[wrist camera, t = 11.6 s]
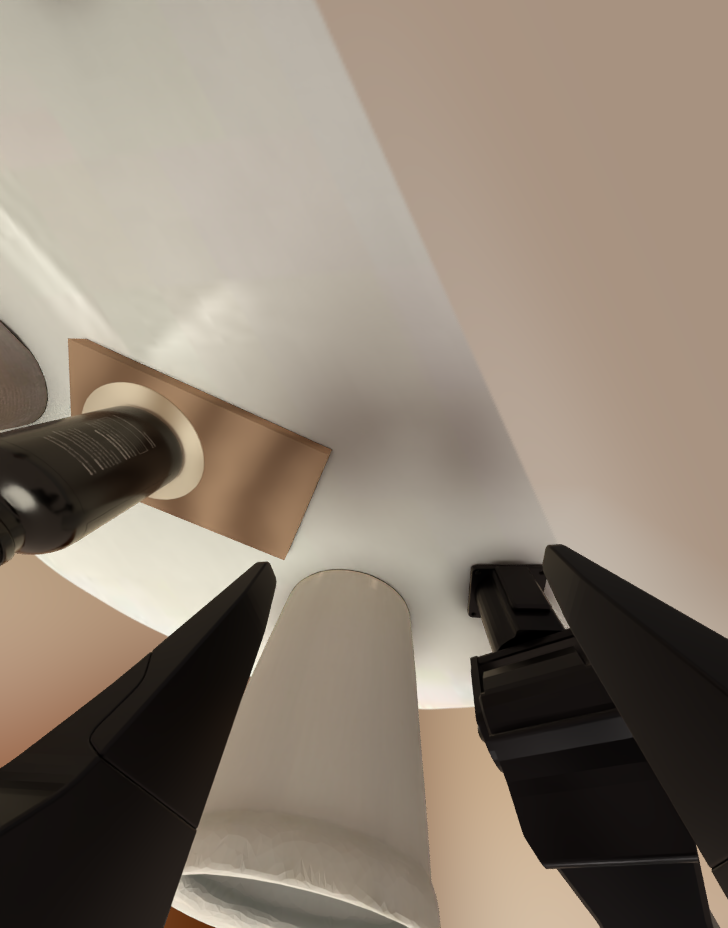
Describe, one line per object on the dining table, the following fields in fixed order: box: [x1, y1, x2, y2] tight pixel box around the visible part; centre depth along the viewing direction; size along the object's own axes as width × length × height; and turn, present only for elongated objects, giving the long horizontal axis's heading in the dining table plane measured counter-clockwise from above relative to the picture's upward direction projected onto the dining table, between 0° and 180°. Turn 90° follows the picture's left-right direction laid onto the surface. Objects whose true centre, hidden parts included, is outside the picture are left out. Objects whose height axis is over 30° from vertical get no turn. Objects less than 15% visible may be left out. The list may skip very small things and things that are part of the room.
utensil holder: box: [171, 570, 441, 928], centre depth 21 cm, size 15×15×18 cm
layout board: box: [68, 339, 332, 560], centre depth 23 cm, size 20×12×1 cm, turn 66°
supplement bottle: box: [0, 406, 182, 566], centre depth 16 cm, size 7×7×12 cm
